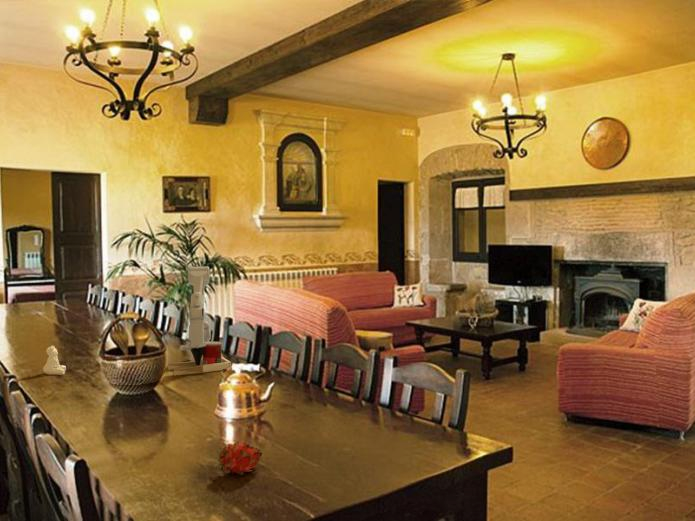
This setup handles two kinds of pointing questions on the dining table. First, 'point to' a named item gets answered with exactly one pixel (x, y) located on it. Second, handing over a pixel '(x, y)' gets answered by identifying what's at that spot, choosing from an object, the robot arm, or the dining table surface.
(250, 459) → the dragon fruit
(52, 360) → the white creature statuette
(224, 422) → the dining table surface
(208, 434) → the dining table surface
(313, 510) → the dining table surface
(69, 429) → the dining table surface
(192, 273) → the robot arm
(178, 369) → the rail channel
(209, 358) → the canned food
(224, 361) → the open frame
